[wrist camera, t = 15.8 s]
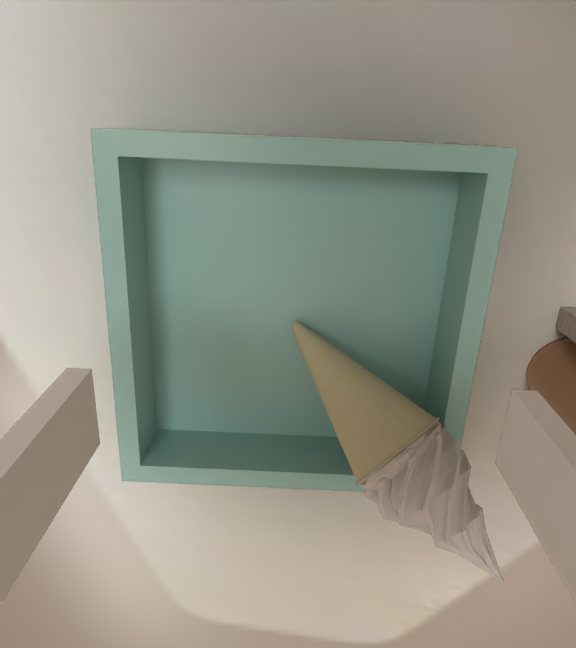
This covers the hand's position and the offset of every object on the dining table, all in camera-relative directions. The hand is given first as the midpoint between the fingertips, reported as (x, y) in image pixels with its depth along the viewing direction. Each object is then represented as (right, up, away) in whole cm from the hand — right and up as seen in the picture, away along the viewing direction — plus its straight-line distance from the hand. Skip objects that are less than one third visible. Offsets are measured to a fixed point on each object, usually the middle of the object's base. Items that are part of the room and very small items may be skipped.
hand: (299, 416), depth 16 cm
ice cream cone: (0, +3, +10) cm, 11 cm away
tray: (0, +4, +11) cm, 12 cm away
